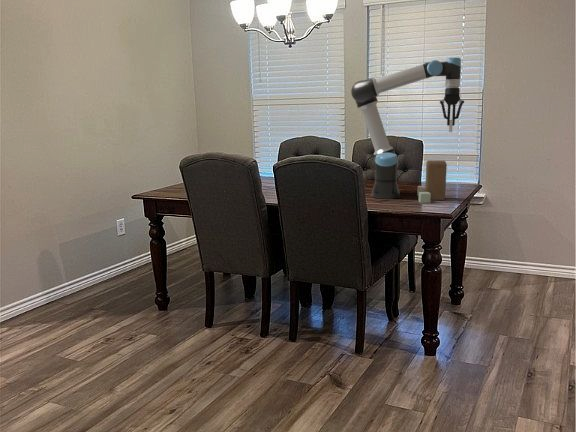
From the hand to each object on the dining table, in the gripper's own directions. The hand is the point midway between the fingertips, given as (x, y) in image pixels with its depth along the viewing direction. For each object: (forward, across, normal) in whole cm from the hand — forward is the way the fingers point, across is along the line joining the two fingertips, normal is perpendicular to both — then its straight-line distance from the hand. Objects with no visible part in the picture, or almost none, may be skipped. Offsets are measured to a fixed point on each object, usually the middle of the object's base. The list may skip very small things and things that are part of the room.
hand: (450, 131), depth 310 cm
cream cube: (+35, -14, -6) cm, 38 cm away
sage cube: (+35, -14, -26) cm, 45 cm away
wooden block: (+35, -8, -16) cm, 39 cm away
